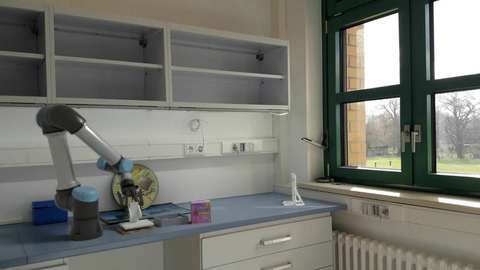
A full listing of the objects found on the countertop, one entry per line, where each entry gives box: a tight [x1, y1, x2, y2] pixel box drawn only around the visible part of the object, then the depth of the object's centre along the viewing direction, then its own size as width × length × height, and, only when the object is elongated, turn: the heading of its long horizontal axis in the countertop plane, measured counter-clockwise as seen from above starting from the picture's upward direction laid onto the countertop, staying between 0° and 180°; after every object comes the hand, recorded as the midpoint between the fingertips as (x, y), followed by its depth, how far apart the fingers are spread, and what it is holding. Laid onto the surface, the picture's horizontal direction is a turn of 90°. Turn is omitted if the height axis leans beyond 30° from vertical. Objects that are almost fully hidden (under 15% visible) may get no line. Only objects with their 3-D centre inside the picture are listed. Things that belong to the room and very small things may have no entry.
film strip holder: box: [282, 172, 306, 207], centre depth 254 cm, size 14×14×20 cm
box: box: [190, 199, 212, 225], centre depth 205 cm, size 10×6×12 cm, turn 105°
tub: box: [153, 212, 190, 228], centre depth 205 cm, size 15×12×4 cm
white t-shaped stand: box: [118, 201, 155, 229], centre depth 195 cm, size 15×12×11 cm
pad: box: [115, 225, 158, 235], centre depth 195 cm, size 17×14×1 cm
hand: (135, 217), depth 196 cm, fingers closed on white t-shaped stand, 4 cm apart
